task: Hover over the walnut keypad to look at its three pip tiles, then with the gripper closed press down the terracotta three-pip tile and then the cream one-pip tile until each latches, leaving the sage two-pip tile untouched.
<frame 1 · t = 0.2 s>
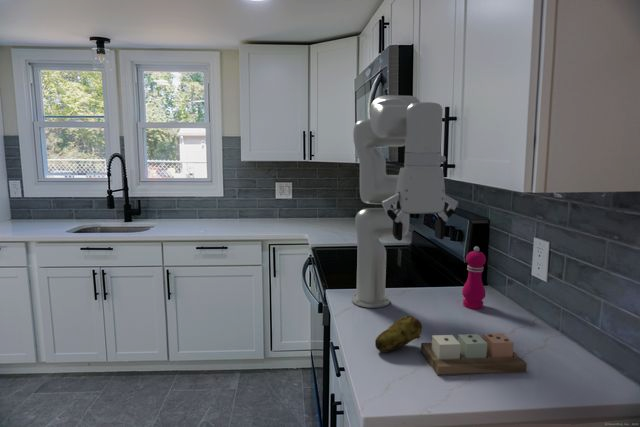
hand: (418, 238, 95), 31 cm above the worktop, tool pointing down, fingers open, 9 cm apart
three-pip tile: (497, 345, 103), point 4 cm above the worktop, slide at 0.0 cm
two-pip tile: (471, 346, 102), point 4 cm above the worktop, slide at 0.0 cm
one-pip tile: (445, 347, 102), point 4 cm above the worktop, slide at 0.0 cm
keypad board: (470, 361, 103), on the worktop
pepper mill: (472, 306, 140), on the worktop
potato: (397, 348, 109), on the worktop
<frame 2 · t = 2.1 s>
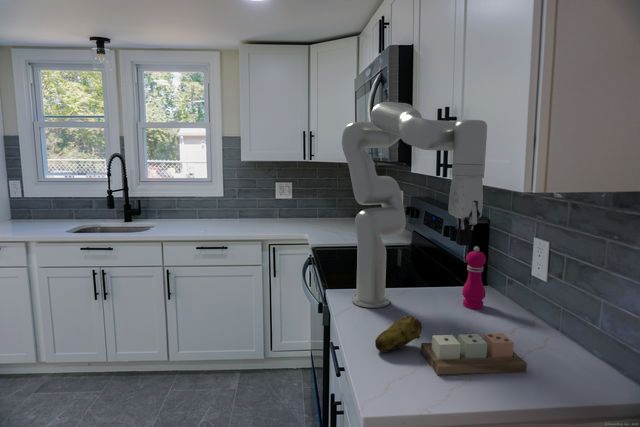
hand: (463, 244, 107), 27 cm above the worktop, tool pointing down, fingers closed
nothing on the worktop moved.
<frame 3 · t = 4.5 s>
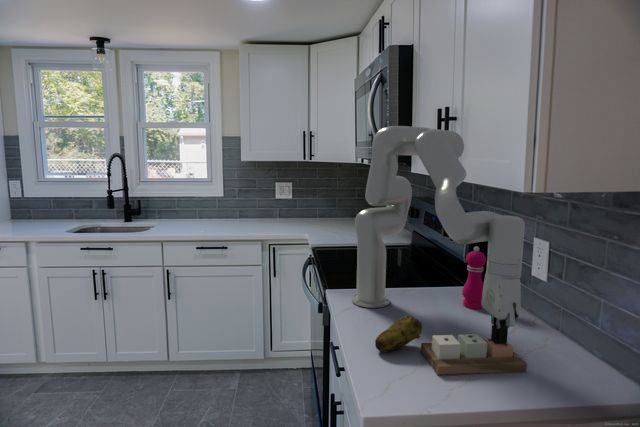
hand: (498, 341, 103), 5 cm above the worktop, tool pointing down, fingers closed
three-pip tile: (497, 349, 103), point 3 cm above the worktop, slide at 1.1 cm
everything else where it was.
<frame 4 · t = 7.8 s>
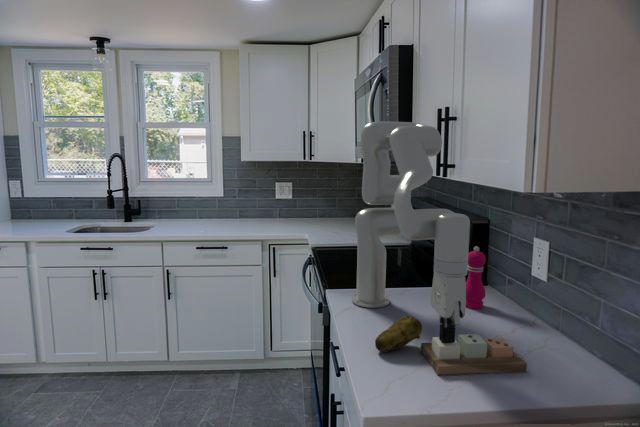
hand: (446, 341, 101), 5 cm above the worktop, tool pointing down, fingers closed
one-pip tile: (445, 349, 102), point 3 cm above the worktop, slide at 0.5 cm, touching gripper
everything else where it was.
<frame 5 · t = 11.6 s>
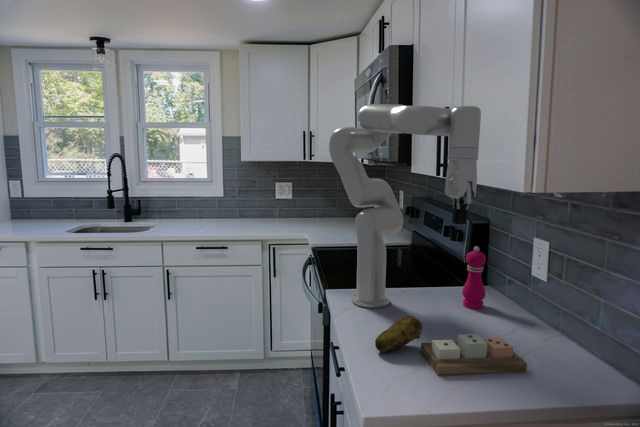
hand: (459, 223, 114), 31 cm above the worktop, tool pointing down, fingers closed
one-pip tile: (445, 351, 102), point 3 cm above the worktop, slide at 1.2 cm
everything else where it was.
at the end: three-pip tile slide at 1.2 cm; one-pip tile slide at 1.2 cm; two-pip tile slide at 0.0 cm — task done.
